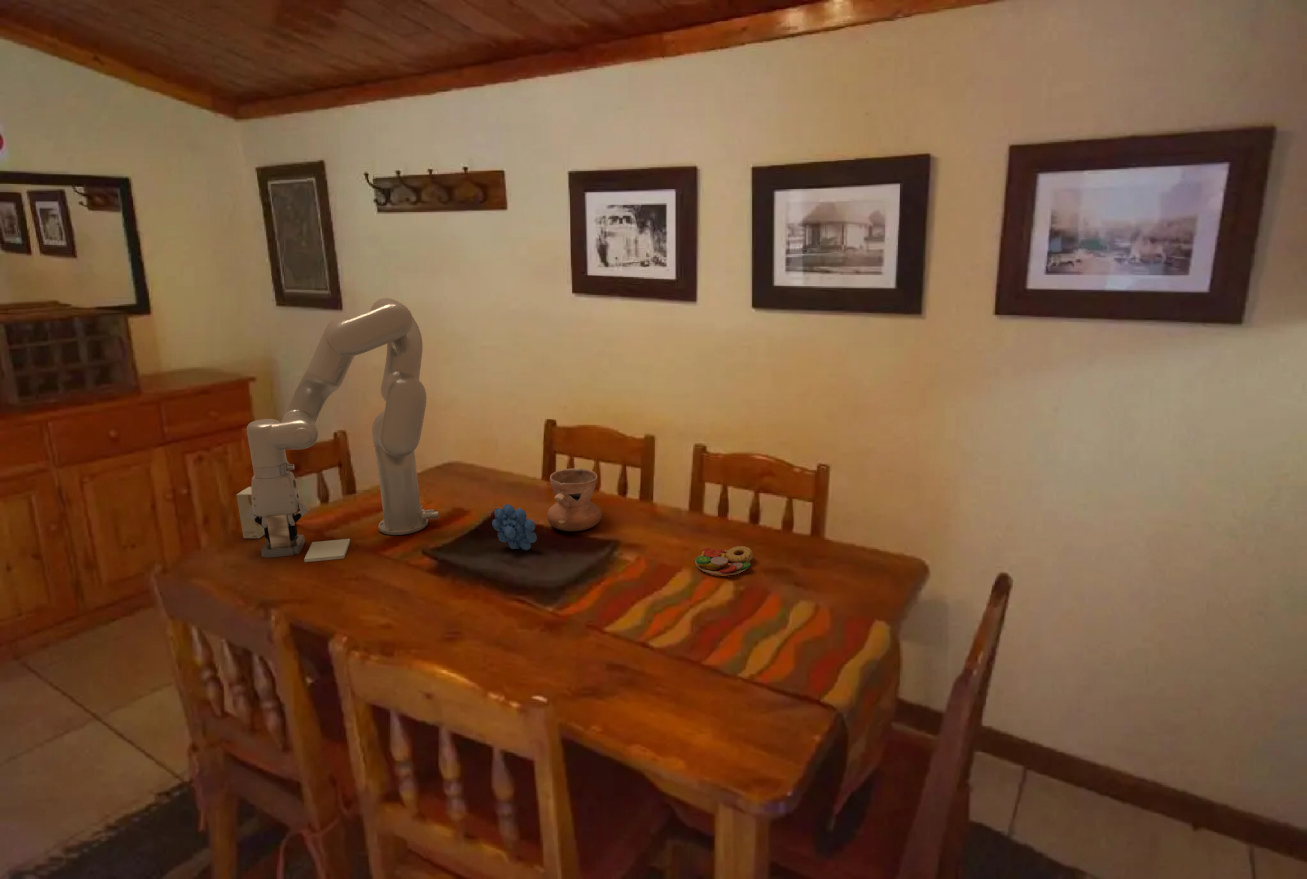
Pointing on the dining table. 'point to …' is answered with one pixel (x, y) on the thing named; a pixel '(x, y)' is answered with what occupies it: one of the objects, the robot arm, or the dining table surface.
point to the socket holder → (283, 548)
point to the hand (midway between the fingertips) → (282, 538)
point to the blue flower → (514, 527)
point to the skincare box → (244, 504)
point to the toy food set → (724, 560)
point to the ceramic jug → (573, 500)
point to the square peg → (279, 531)
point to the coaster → (327, 550)
